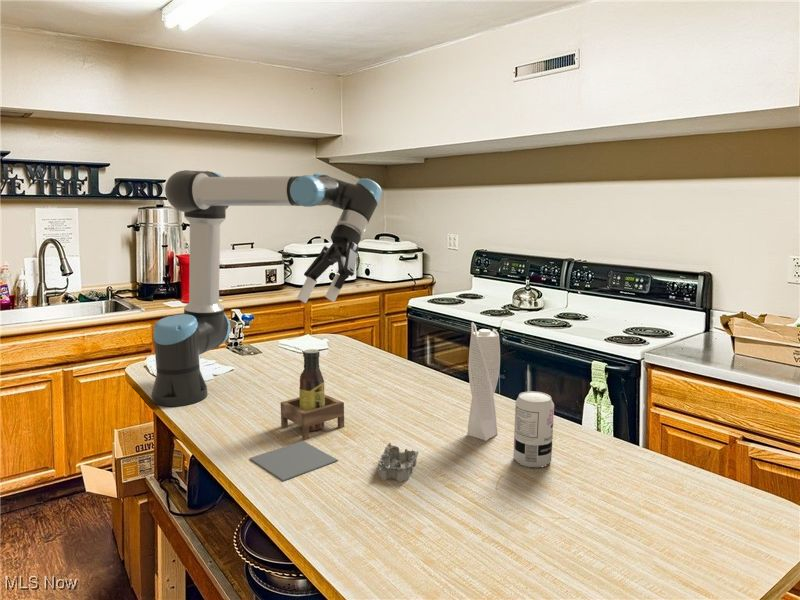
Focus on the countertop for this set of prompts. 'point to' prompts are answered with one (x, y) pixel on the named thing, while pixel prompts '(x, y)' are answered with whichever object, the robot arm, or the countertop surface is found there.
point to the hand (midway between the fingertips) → (315, 300)
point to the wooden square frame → (311, 414)
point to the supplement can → (533, 429)
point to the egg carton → (396, 463)
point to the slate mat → (293, 460)
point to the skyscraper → (483, 382)
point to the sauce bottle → (312, 385)
